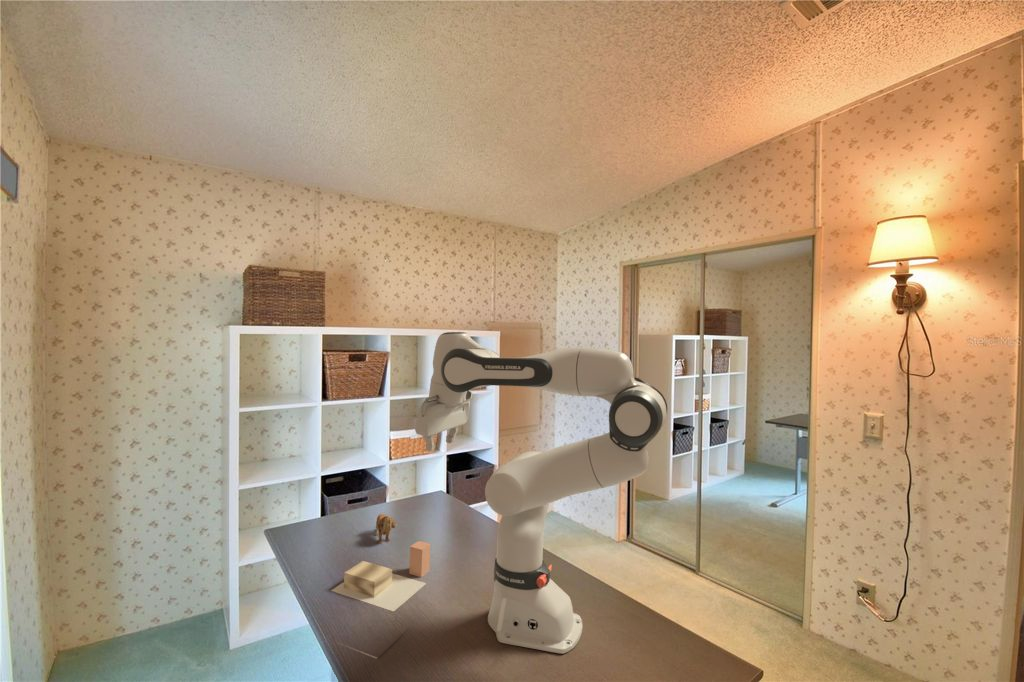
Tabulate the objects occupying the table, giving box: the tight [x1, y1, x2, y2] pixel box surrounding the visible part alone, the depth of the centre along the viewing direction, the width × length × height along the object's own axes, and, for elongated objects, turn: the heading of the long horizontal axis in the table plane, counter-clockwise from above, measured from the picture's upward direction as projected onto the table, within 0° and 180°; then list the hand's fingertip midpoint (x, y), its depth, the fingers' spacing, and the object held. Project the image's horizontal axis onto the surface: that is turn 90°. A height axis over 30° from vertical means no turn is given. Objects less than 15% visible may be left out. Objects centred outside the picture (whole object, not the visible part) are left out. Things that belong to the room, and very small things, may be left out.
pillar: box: [408, 540, 431, 578], centre depth 129 cm, size 4×4×8 cm
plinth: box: [343, 560, 393, 597], centre depth 121 cm, size 10×7×4 cm
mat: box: [330, 572, 427, 612], centre depth 121 cm, size 20×14×1 cm
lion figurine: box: [374, 513, 398, 545], centre depth 151 cm, size 15×5×9 cm, turn 34°
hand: (440, 446), depth 118 cm, fingers open, 8 cm apart
